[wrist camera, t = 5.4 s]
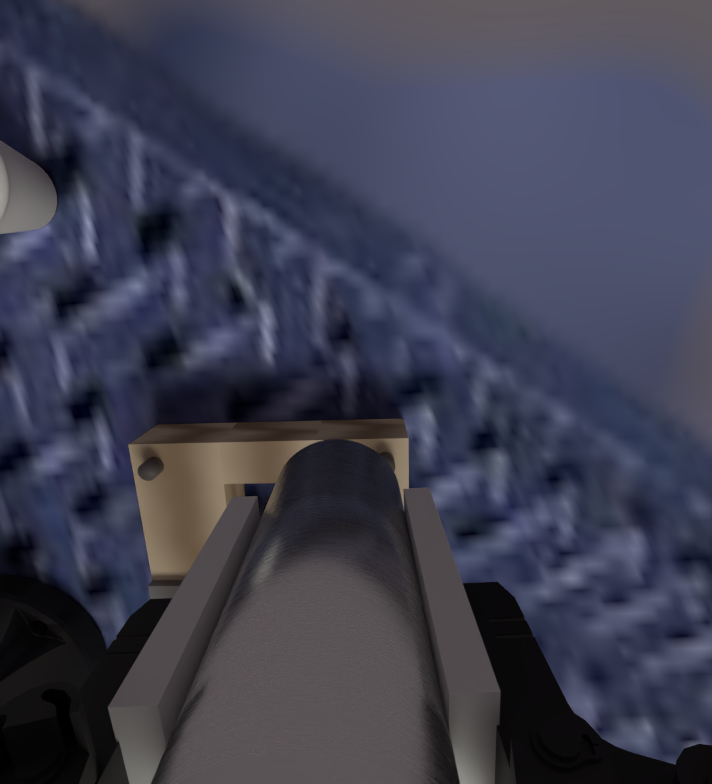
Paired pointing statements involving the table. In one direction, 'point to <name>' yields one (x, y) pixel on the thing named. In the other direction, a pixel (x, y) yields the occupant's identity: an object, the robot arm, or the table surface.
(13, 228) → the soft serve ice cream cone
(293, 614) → the grey metal peg
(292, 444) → the plate
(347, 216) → the table surface
